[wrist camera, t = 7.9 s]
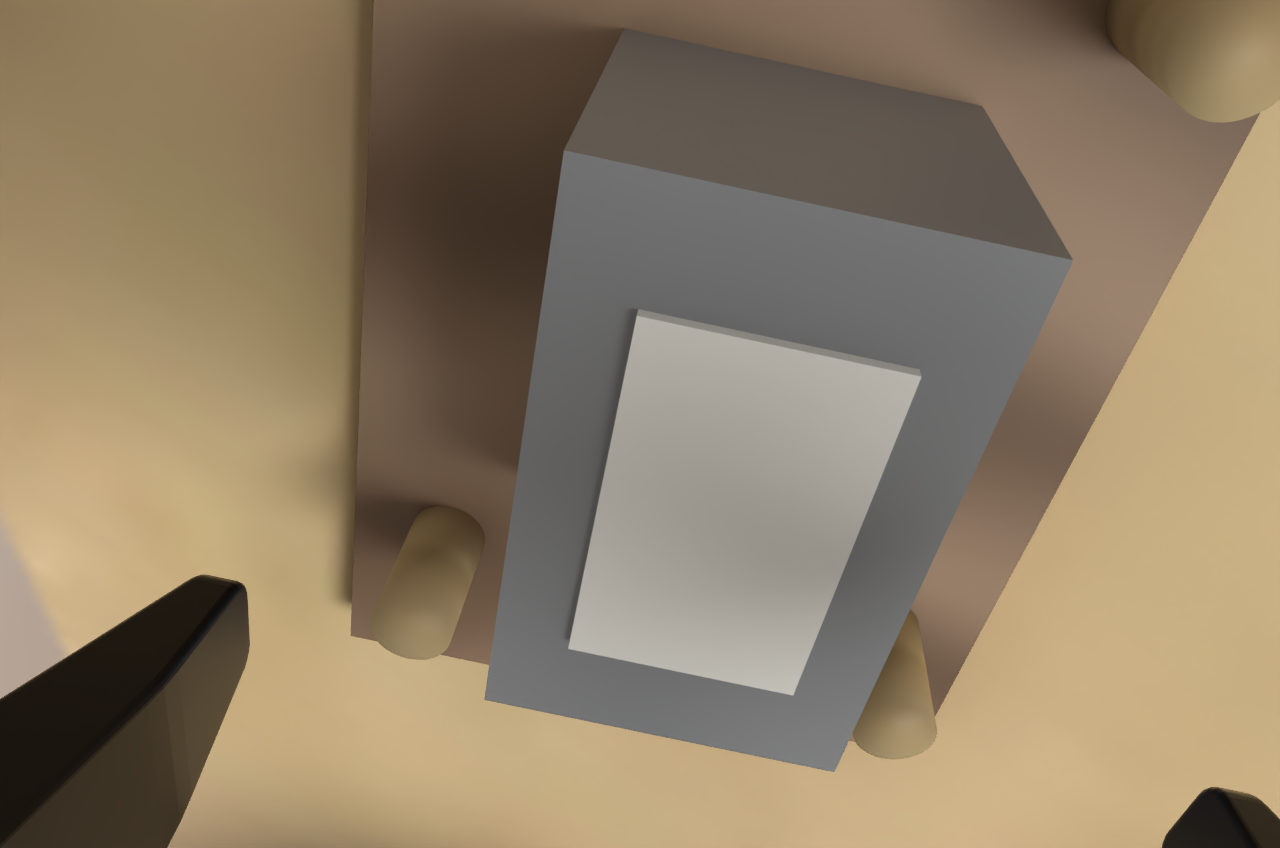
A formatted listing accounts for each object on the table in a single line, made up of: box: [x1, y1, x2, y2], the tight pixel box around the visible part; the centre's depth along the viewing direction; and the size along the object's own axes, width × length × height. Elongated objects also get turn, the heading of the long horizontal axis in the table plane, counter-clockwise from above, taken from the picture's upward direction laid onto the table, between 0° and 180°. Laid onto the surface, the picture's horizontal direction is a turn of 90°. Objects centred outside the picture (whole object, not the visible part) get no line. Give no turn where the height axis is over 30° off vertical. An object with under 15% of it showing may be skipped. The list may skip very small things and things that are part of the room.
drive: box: [484, 28, 1073, 772], centre depth 14 cm, size 8×5×5 cm, turn 170°
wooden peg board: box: [351, 0, 1280, 759], centre depth 15 cm, size 18×12×3 cm, turn 169°
